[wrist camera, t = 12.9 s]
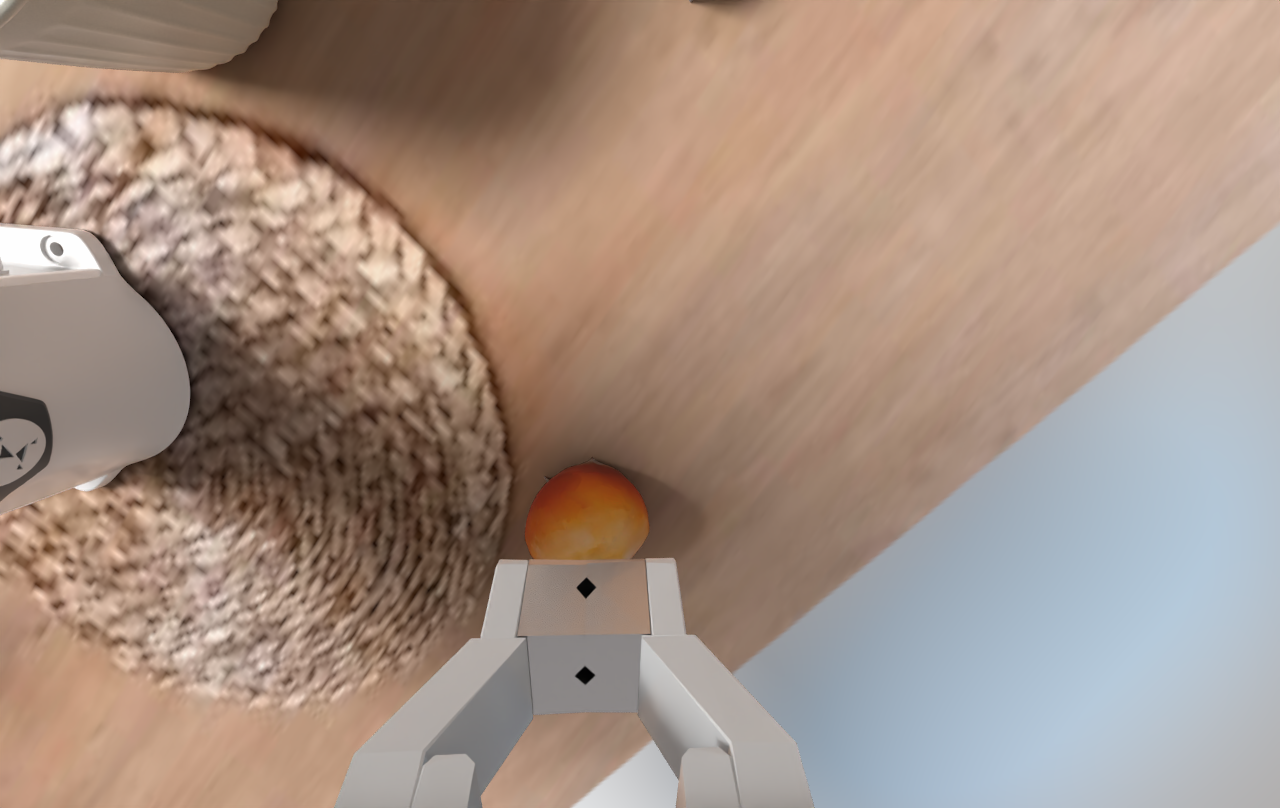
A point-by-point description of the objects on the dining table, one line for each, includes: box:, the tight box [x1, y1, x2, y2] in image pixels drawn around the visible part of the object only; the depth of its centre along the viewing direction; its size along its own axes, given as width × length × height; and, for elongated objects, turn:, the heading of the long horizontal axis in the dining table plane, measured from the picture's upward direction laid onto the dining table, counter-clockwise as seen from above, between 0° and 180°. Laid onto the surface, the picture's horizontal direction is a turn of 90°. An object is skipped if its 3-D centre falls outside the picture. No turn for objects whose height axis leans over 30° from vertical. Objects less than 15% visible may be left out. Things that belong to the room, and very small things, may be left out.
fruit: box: [525, 457, 649, 560], centre depth 40 cm, size 8×8×8 cm
